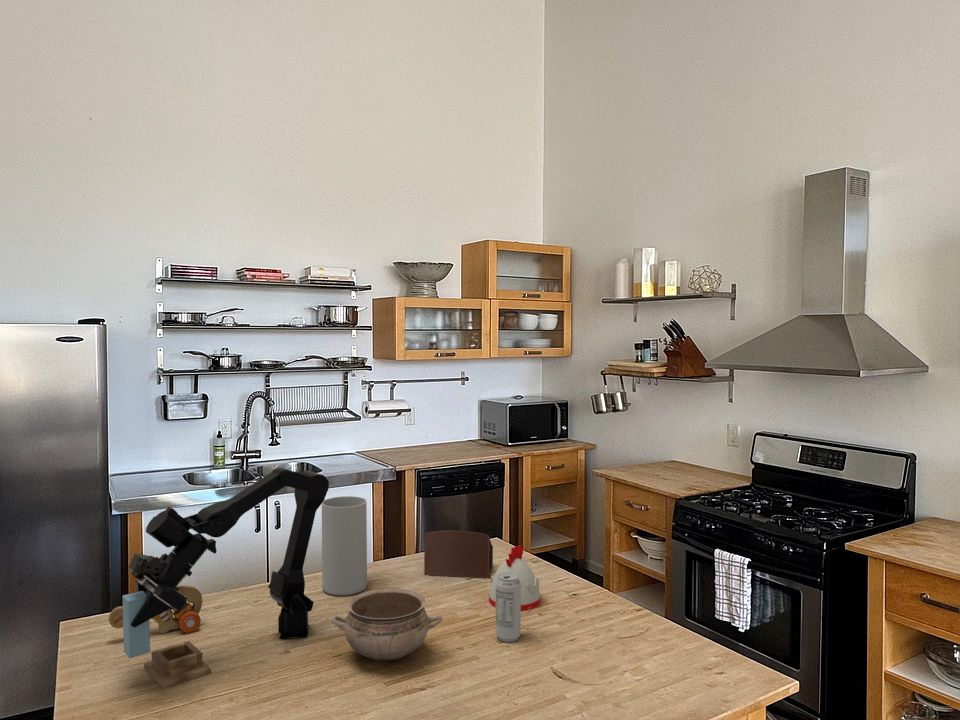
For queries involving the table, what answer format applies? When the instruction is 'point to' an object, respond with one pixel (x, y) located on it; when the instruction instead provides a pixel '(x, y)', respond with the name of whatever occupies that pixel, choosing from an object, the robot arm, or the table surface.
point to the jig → (177, 664)
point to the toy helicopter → (171, 613)
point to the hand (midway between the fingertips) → (129, 623)
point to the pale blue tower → (140, 635)
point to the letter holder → (458, 554)
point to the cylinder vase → (344, 545)
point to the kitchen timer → (525, 576)
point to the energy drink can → (508, 607)
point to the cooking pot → (386, 623)
